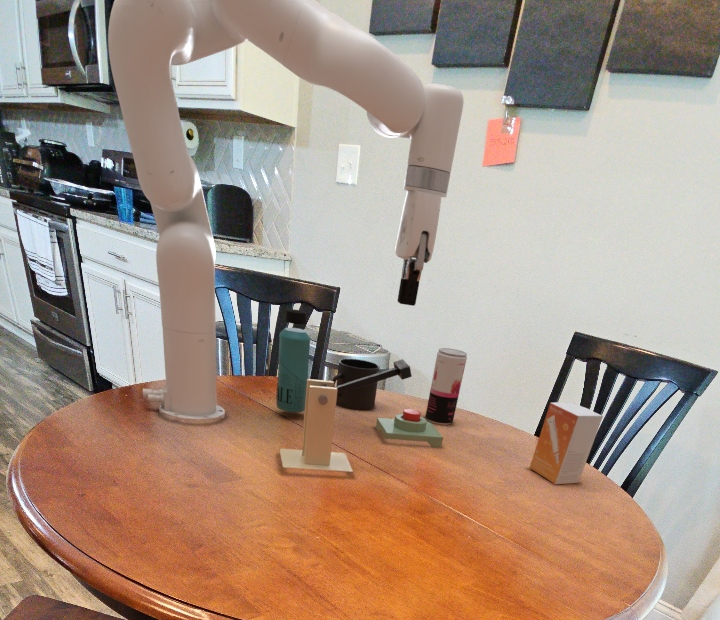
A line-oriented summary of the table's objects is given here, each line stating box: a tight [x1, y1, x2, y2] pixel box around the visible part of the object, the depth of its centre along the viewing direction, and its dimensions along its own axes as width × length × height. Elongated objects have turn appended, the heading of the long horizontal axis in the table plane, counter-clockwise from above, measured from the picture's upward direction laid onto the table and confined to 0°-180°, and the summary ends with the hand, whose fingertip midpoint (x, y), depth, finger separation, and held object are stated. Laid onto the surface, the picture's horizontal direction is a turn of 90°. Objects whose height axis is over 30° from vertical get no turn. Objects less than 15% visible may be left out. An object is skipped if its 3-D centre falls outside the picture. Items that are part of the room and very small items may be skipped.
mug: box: [331, 358, 381, 411], centre depth 135 cm, size 9×12×9 cm
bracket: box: [279, 378, 354, 473], centre depth 99 cm, size 12×9×14 cm
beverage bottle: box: [275, 308, 312, 413], centre depth 120 cm, size 6×7×20 cm
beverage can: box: [424, 347, 468, 426], centre depth 133 cm, size 7×6×15 cm
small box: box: [529, 401, 604, 485], centre depth 112 cm, size 8×6×13 cm
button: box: [402, 408, 422, 422], centre depth 121 cm, size 4×4×2 cm
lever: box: [321, 358, 412, 394], centre depth 96 cm, size 16×5×2 cm, turn 100°
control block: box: [375, 413, 444, 449], centre depth 123 cm, size 12×10×4 cm
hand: (406, 303), depth 111 cm, fingers closed
